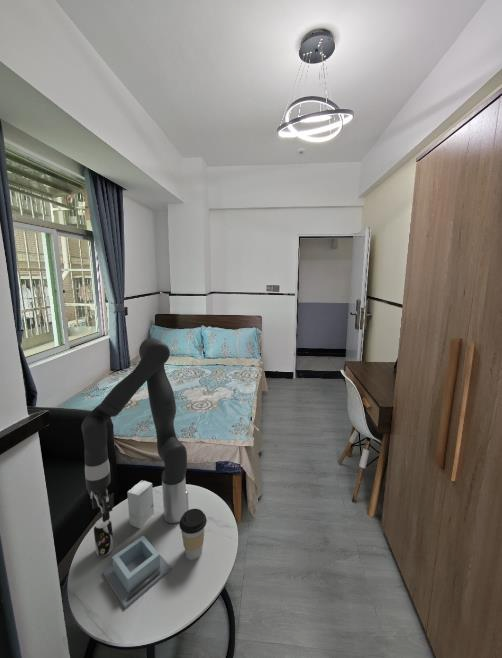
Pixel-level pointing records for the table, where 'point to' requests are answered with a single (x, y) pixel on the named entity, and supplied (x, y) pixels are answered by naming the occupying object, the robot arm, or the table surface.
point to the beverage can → (103, 537)
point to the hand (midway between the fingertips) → (101, 513)
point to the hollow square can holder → (135, 570)
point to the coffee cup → (193, 532)
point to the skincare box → (140, 504)
